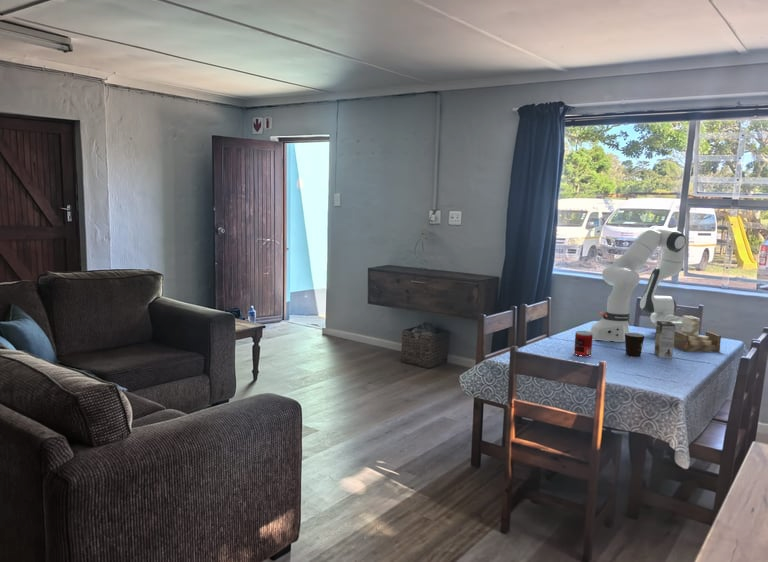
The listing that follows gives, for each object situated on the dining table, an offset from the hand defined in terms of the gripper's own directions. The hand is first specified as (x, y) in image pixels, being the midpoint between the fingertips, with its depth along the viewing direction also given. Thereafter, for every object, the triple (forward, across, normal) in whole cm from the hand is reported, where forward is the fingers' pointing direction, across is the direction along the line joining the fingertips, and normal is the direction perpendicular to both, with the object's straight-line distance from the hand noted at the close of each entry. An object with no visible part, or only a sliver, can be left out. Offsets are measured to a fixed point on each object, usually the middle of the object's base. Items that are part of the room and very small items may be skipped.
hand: (683, 327), depth 301 cm
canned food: (+29, -63, +8) cm, 70 cm away
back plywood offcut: (+13, 0, +8) cm, 16 cm away
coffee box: (+28, -24, +8) cm, 38 cm away
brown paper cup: (+27, -37, +8) cm, 47 cm away
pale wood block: (+6, 0, +8) cm, 10 cm away
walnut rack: (+13, 0, +8) cm, 16 cm away
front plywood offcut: (+16, 0, +8) cm, 18 cm away
